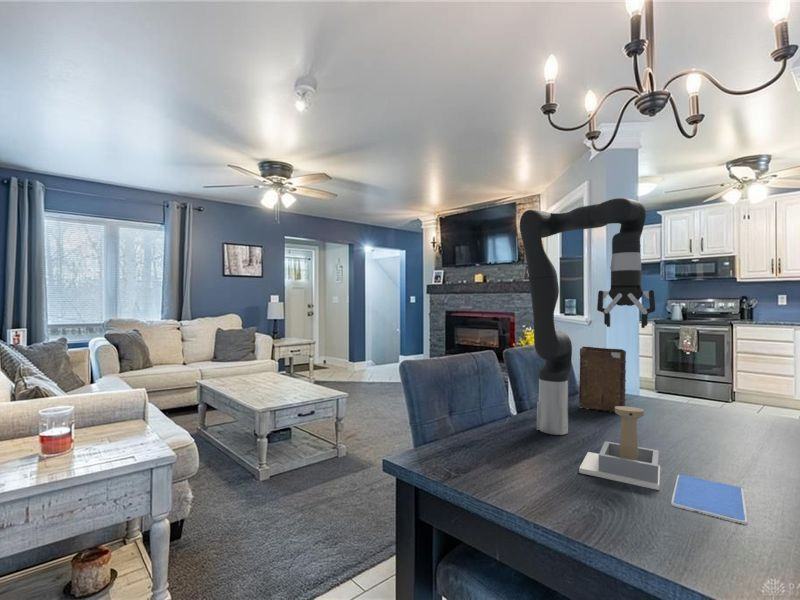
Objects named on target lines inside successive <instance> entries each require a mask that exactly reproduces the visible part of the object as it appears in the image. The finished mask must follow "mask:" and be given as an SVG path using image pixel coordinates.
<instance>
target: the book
mask: <svg viewBox="0 0 800 600" xmlns="http://www.w3.org/2000/svg"><path fill="white" fill-rule="evenodd" d="M626 355H627V350H624V349H622V348H607V347H605V348H604V347H592V346H581V348H579V395H578V396H579V397H578V399H579V400H578V408H579V407H582V408H589V409H596V410H595V411H598V410H604V411H603V412H606V411H611V412H610V413H612V412H615V407H616V406H626V391H627V390H626V381H627V380H626V372H627V370H626V368H627V367H626V364H627V361H626V359H627V358H626V357H627V356H626ZM589 409H588V410H589Z"/></svg>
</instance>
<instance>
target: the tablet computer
mask: <svg viewBox="0 0 800 600" xmlns="http://www.w3.org/2000/svg"><path fill="white" fill-rule="evenodd" d="M744 493H745V492H744V489H743V488H742V487H739V486H735V485H733V484H727V483H722V482H718V481H714V480H709V479H703V478H700V477H694V476H691V475H690V476H688V475H685V474H678V475H677V476H676V480H675V484H674V488H673V493H672V495H671V501H670V502H671V503H670V505H671V506H672V507H674V508H678V509H682V510H684V511H685V510H686V511H689V512H693V511H695V512H694V513H697V512H698V513H697V514H701V513H703V514H702V515H704V514H706V515H705V516H708V515H711V516H710V517H712V516H715V517H714V518H716V517H719V518H718V519H720V518H723V519H727V520H731V521H735V522H738V523H737V524H739V523H742V524H741V525H743V524H747V525H749V522H748V515H747V507H746V500H745V494H744ZM723 519H722V520H723ZM727 520H726V521H727ZM731 521H730V522H731ZM735 522H734V523H735Z"/></svg>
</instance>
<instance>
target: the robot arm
mask: <svg viewBox="0 0 800 600" xmlns="http://www.w3.org/2000/svg"><path fill="white" fill-rule="evenodd" d="M646 214H647V213H646V208H645V206H644V204H643V203H642V202H641V201H638V200H635V199H632V198H631V199H630V198H627V197H616V198H611V199H608V200H606V201H603V202H601V203H595V204H589V205H584V206H583V205H582V206H580V207H577V208H574V209H572V210H570V211H567V212H562V213H561V212H560V213H558V212H556V213H555V212H554V213H553V212H548V211H543V210H537V209H528V210H525V211H524V212H523V213H522V214H521V216H520V218H519V231H520V235H521V241H522V244H523V248H524V253H525V260H526V268H527V272H528V283H529V292H530V296H531V297H530V299H531V306H532V313H533V314H532V316H533V317H532V318H533V345H534V349H535V351H536V354H537V356H539V358H541V359H543V360H545V364H544V365H543V366H542V367H541V368H540V369H539V372H538V400H537V401H536V431H538V430H540V431H539V432H541V433H545V434H549V435H557V436H559V435H560V436H563V435H566V434H568V432H569V375H570V374H571V370H572V358H573V357H572V356H573V353H572V352H573V345H572V340H571V338H570V337H569V335H568V334H567V333H566V332H564V331H560V330H559V331H556V327H555V317H554V316H555V309H556V306H557V302H558V299H559V296H560V295H559V293H560V287H559V279H558V273H557V270H556V268H555V266H554V264H553V262H552V261H551V260H550V258H549V256H548V255H547V253H546V251H545V249H544V245H543V240H542V239H543V238H547V237H552V236H555V235H557V234H560V233H564V232H570V231H578V230H579V231H580V230H590V229H597V228H602V227H606V226H607V225H610V224H620V227H619V232H618V233H615V234H614V235H613V236H612V239H611V259H610V267H609V268H610V289H609V291H607V290H599V291H598V292H597V293H598V294H597V304H596V305H597V306H596V311H598V312H601V313H602V314H603V316H604V317H603V318H604V319H603V322H604V325H605V326H606V327H607V328H611V313H610V312H611V311H612V310H613V309H614V308H615V307H616V305H617V306H621V307H622V306H628V307H631V306H632V307H633V306H634V305H635V306H636V308H637V309H639V311H640V312H641V329H645V327H647V326H648V316H649V314H651V313H654V312H655V311H656V300H655V297H656V296H655V291H654V290H653V289H651V290H644V291H643V290H642V258H641V238H642V237H641V236H642V234H643V230H644V226H645V223H646ZM643 295H644V296H645V298H646V299H649V308H646V307H645V306H644V305H643V304H642V303H641V301H640V299H642V297H643ZM607 296H609V297H610V298H611V301H610V303H608V305H607V306H606V307H604V299H606V298H607Z"/></svg>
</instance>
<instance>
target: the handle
mask: <svg viewBox="0 0 800 600" xmlns="http://www.w3.org/2000/svg"><path fill="white" fill-rule="evenodd" d="M614 414H617V416H619V417H620V419H621V423H620V424H621V426H620V439H619V444H620V456H621V458H626V459H631V460H636V461H637V458H638V447H639V441H638V440H639V439H638V426H637V425H638V424H637V423H638V419H640V418H643V417H644V416H645V410H644V408H643V409H642V408H639V407H635V406H626V405H625V406H616V407H615V413H614Z"/></svg>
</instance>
